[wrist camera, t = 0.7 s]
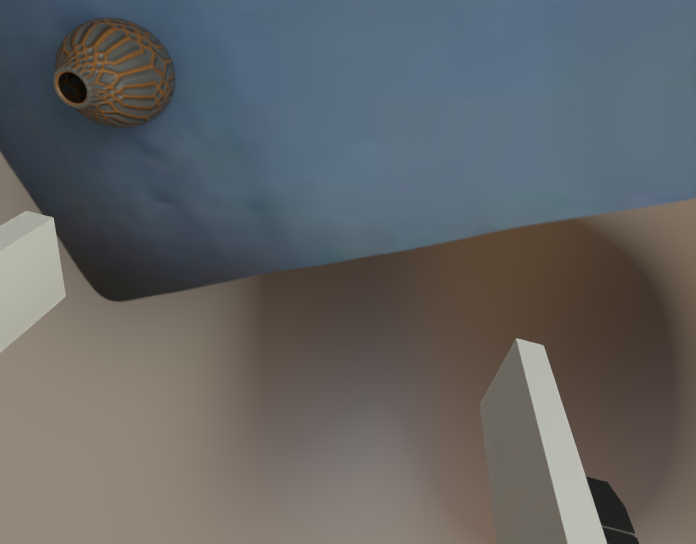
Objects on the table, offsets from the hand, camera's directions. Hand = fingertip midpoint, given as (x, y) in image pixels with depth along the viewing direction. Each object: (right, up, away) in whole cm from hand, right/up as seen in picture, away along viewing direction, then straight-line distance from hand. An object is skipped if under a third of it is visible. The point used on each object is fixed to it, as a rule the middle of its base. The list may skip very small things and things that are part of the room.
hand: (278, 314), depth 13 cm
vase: (-13, +17, +22) cm, 31 cm away
